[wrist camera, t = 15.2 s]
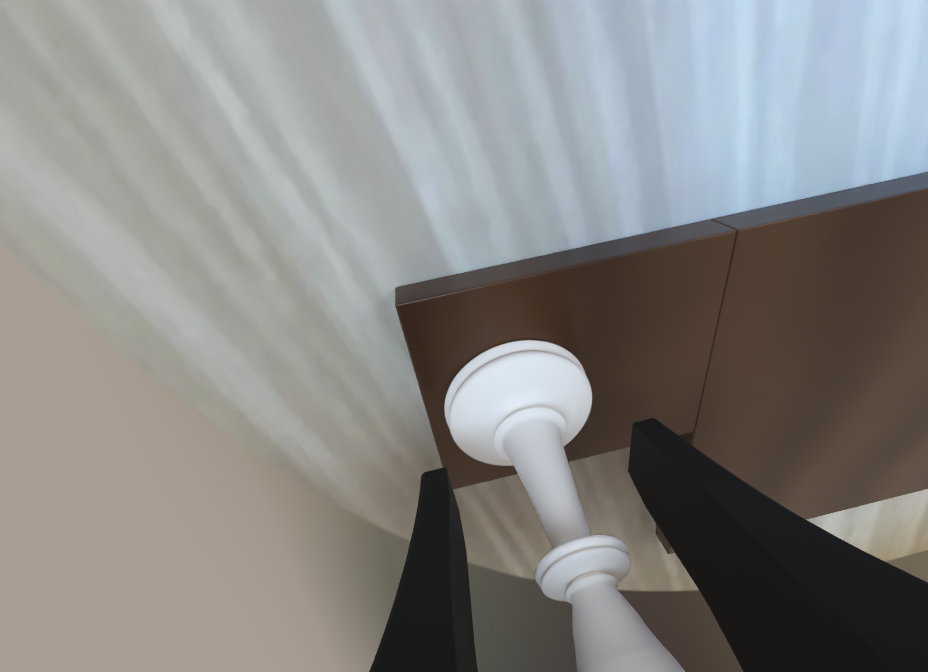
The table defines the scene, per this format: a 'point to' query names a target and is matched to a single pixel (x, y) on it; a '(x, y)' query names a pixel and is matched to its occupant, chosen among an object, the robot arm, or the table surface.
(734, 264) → the walnut board
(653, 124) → the table surface
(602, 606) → the chess piece
